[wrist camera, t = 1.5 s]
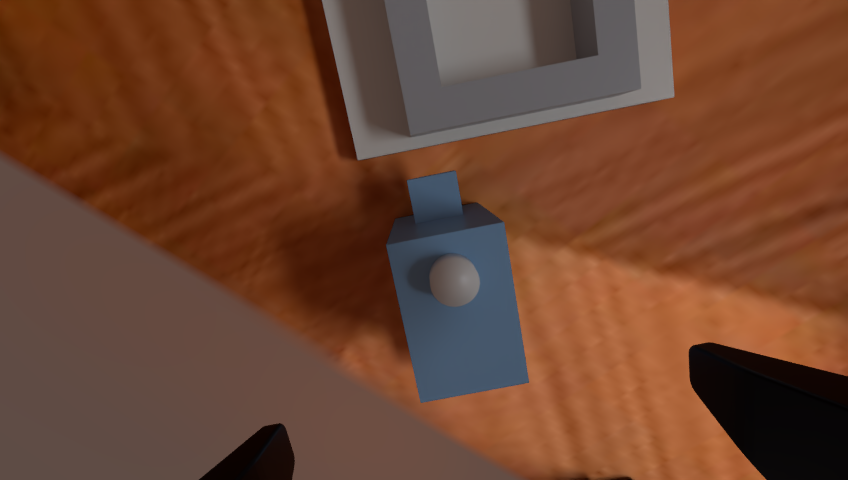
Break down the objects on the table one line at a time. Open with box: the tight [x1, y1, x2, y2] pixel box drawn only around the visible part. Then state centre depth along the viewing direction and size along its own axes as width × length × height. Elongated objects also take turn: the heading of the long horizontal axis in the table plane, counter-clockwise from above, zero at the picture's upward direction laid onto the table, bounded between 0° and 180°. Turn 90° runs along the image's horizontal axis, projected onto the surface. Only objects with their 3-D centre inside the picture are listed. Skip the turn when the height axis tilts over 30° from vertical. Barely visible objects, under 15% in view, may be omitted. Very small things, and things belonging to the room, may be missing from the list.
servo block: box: [386, 171, 529, 403], centre depth 16 cm, size 10×4×7 cm, turn 11°
